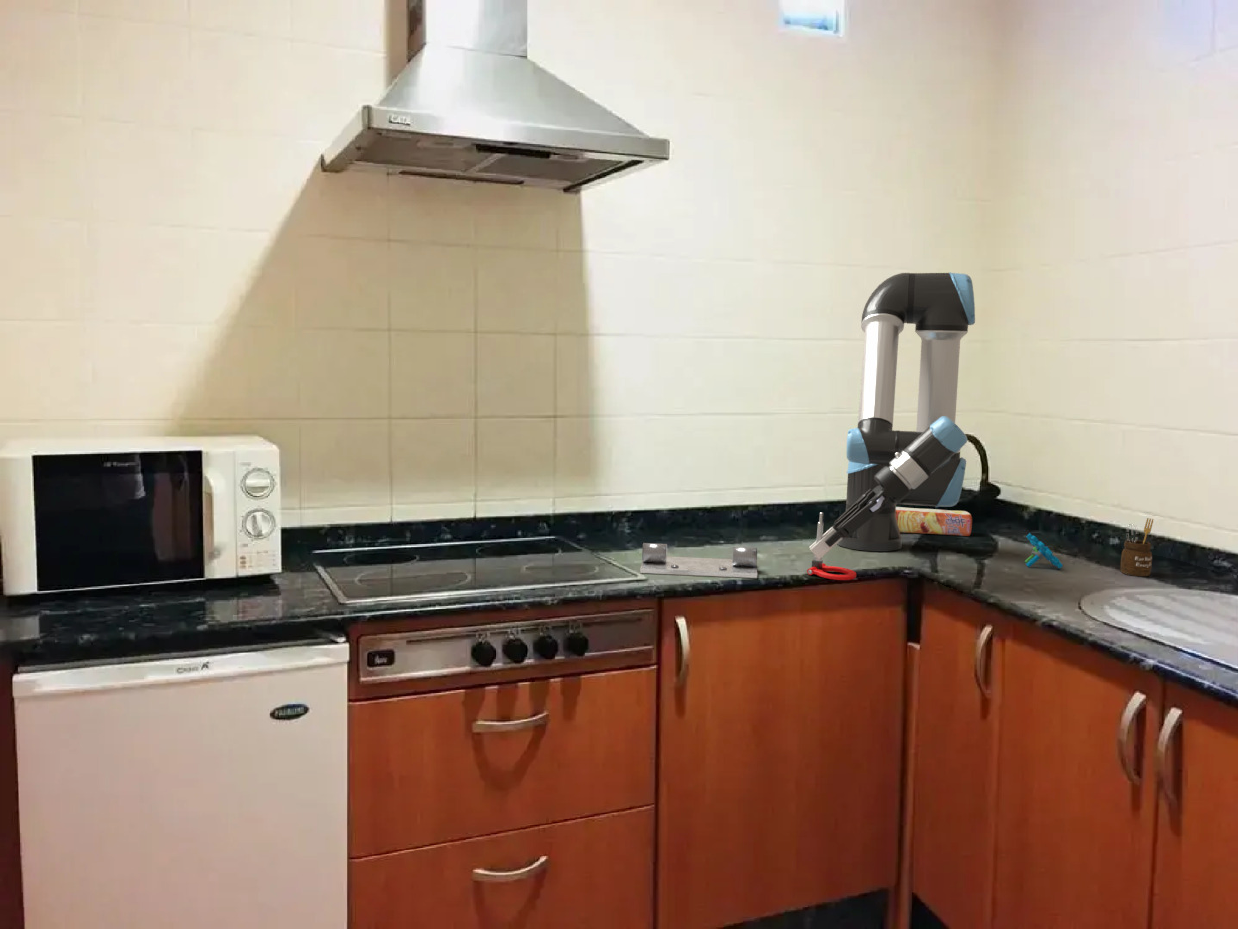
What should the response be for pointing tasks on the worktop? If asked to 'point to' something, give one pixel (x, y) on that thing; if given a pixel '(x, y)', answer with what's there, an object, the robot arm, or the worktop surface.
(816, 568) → the tow hook
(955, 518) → the snack package
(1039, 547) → the gear
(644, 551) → the hinge leaf
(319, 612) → the worktop surface
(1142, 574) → the utensil holder
